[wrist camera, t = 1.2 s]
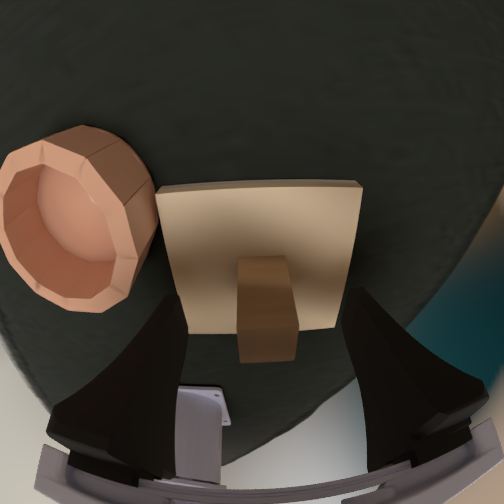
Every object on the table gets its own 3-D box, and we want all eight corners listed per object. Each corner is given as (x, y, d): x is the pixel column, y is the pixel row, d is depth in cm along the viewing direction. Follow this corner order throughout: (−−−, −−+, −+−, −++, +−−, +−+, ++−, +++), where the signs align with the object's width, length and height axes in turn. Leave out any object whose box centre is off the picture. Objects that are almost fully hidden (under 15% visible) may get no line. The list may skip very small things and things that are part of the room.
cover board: (332, 320, 16) (351, 387, 12) (190, 326, 16) (179, 395, 12) (357, 183, 11) (412, 239, 7) (158, 189, 11) (114, 250, 7)
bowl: (172, 268, 14) (157, 315, 11) (58, 270, 14) (32, 306, 11) (144, 109, 10) (108, 118, 7) (18, 148, 10) (-23, 170, 7)
